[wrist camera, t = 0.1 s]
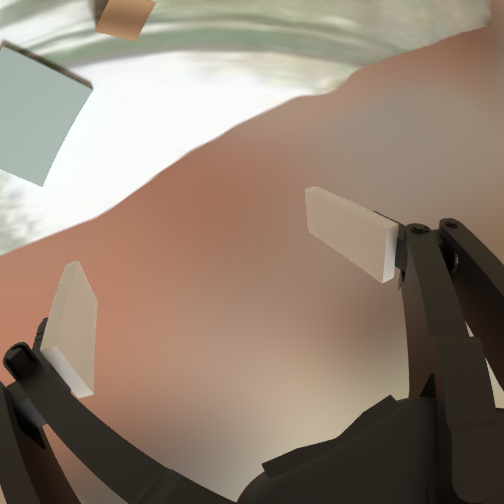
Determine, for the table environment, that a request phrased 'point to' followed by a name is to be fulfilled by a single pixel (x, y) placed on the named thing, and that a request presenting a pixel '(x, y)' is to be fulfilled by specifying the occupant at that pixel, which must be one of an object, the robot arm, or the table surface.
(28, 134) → the teal board
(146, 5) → the walnut block
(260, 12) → the table surface
